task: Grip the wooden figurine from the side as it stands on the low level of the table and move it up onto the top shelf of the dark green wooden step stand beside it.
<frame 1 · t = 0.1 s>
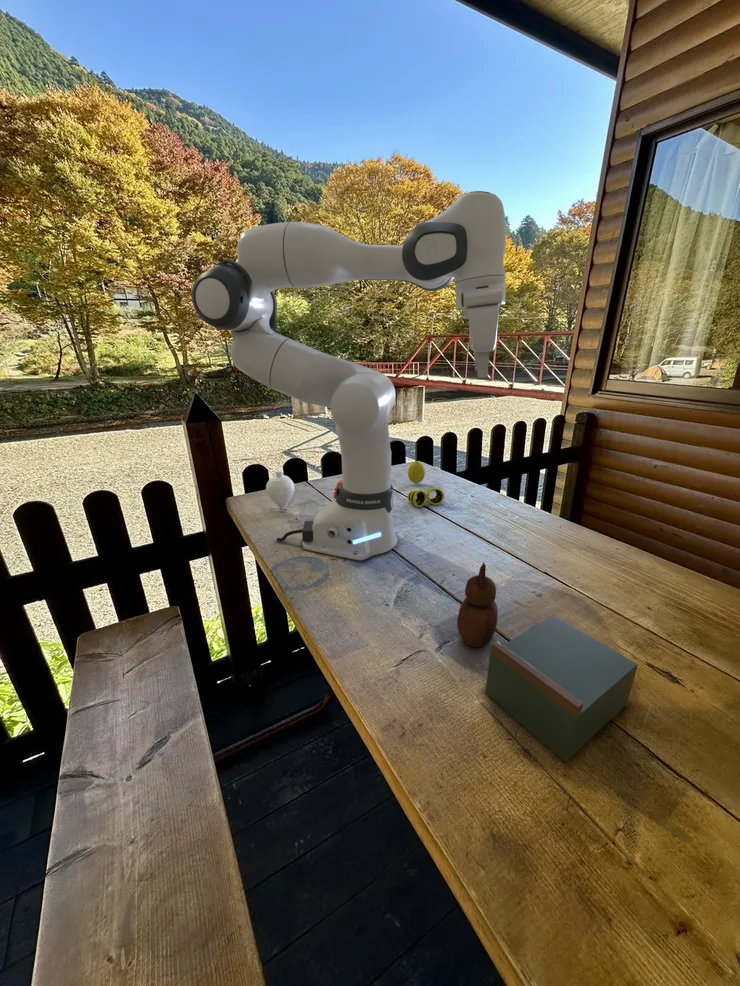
hand: (481, 375, 80), 39 cm above the table, tool pointing down, fingers open, 8 cm apart
step stand: (554, 698, 56), on the table
lemon: (416, 484, 135), on the table
spinning top: (282, 512, 115), on the table
wooden figurine: (475, 640, 67), on the table
opera glasses: (425, 504, 120), on the table
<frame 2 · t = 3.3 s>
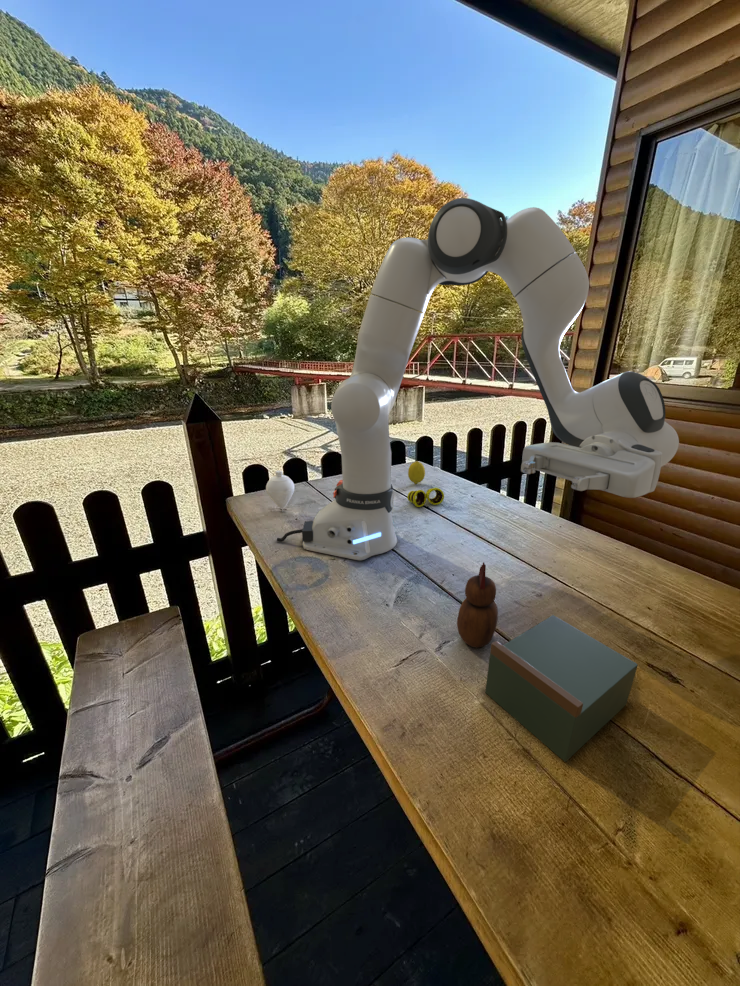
hand: (548, 476, 63), 26 cm above the table, tool horizontal, fingers open, 8 cm apart
nothing on the table moved.
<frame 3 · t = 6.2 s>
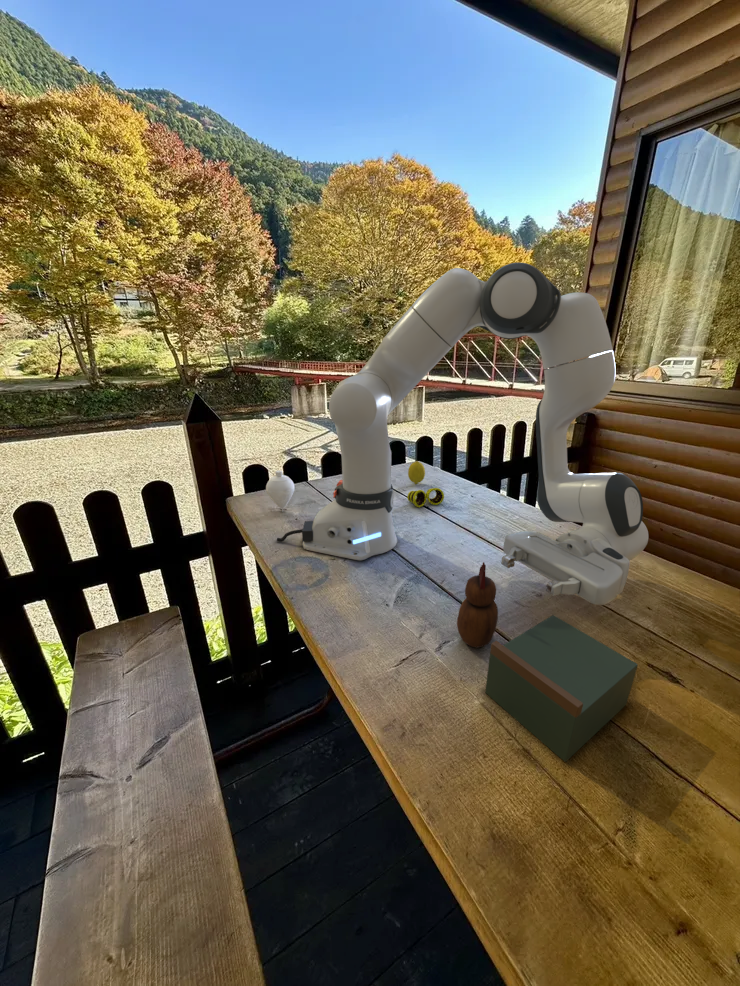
hand: (525, 575, 68), 9 cm above the table, tool horizontal, fingers open, 8 cm apart
nothing on the table moved.
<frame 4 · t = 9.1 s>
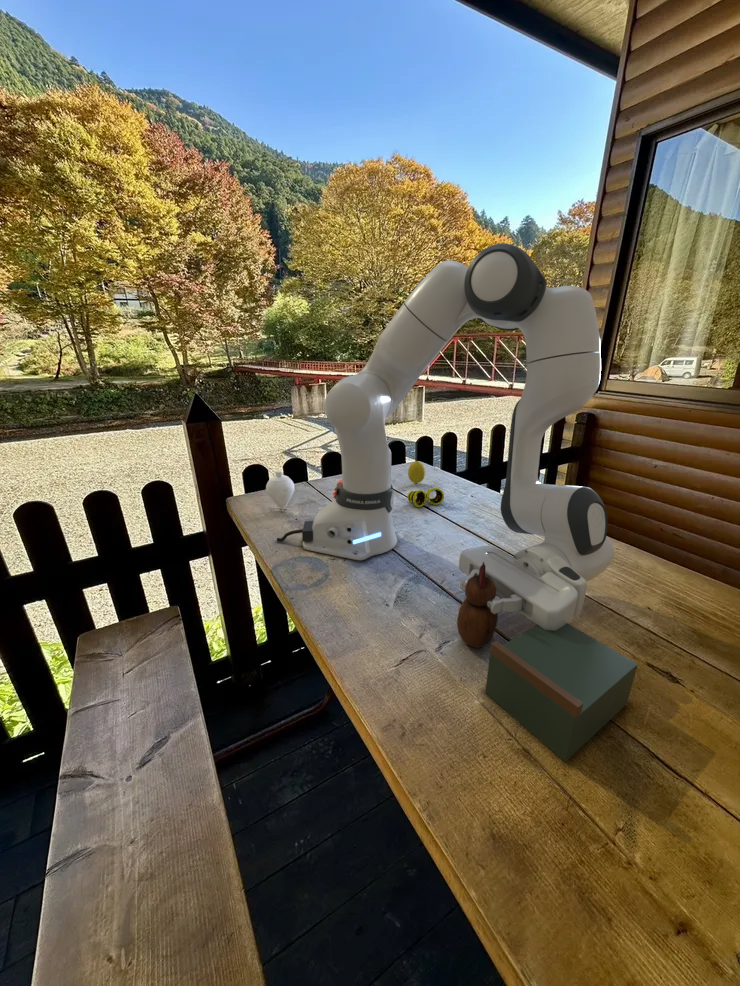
hand: (475, 596, 63), 9 cm above the table, tool horizontal, fingers closed on wooden figurine, 4 cm apart
wooden figurine: (475, 640, 67), on the table, touching gripper
everything else where it was.
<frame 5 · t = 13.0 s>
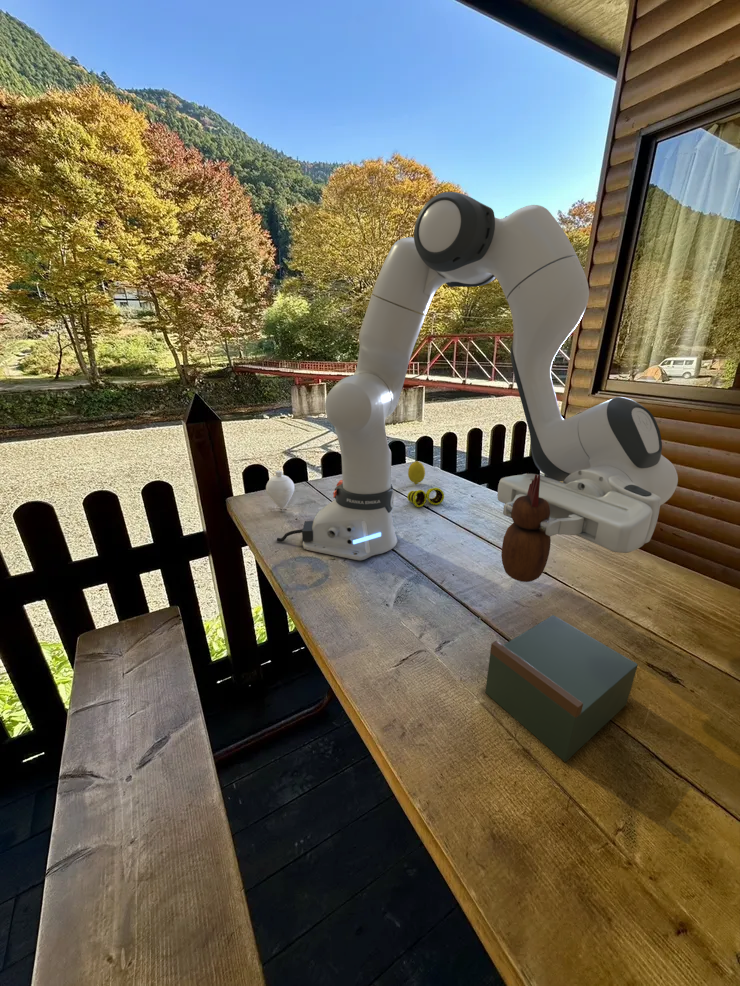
hand: (525, 519, 53), 24 cm above the table, tool horizontal, fingers closed on wooden figurine, 4 cm apart
wooden figurine: (522, 575, 56), point 15 cm above the table, touching gripper
everything else where it was.
when the fingers open (15 cm above the table, at t = 17.0 s): wooden figurine stays where it is, resting on step stand.
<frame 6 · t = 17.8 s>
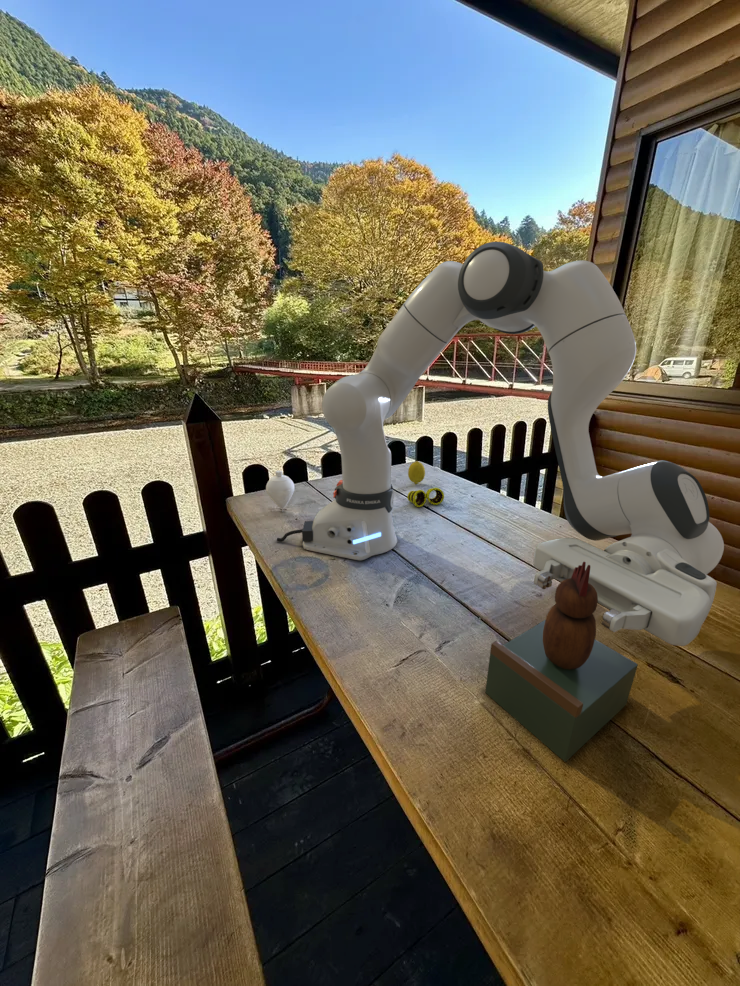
hand: (570, 600, 49), 16 cm above the table, tool horizontal, fingers open, 8 cm apart
wooden figurine: (563, 659, 53), point 7 cm above the table, touching step stand
everything else where it was.
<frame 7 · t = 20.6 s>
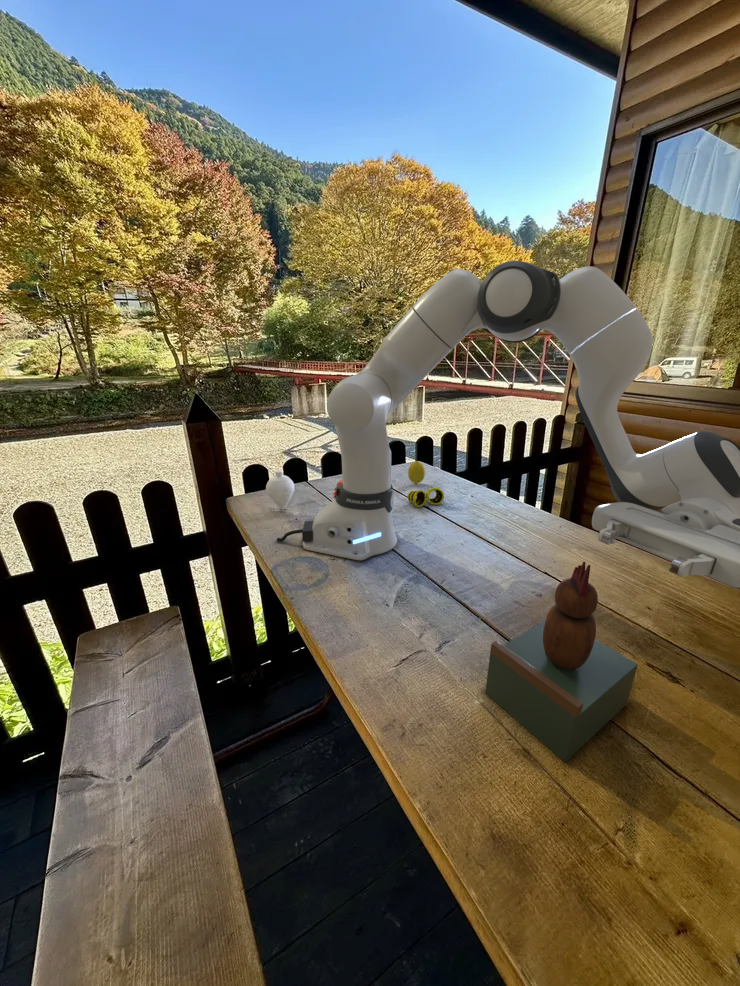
hand: (637, 552, 54), 19 cm above the table, tool horizontal, fingers open, 8 cm apart
nothing on the table moved.
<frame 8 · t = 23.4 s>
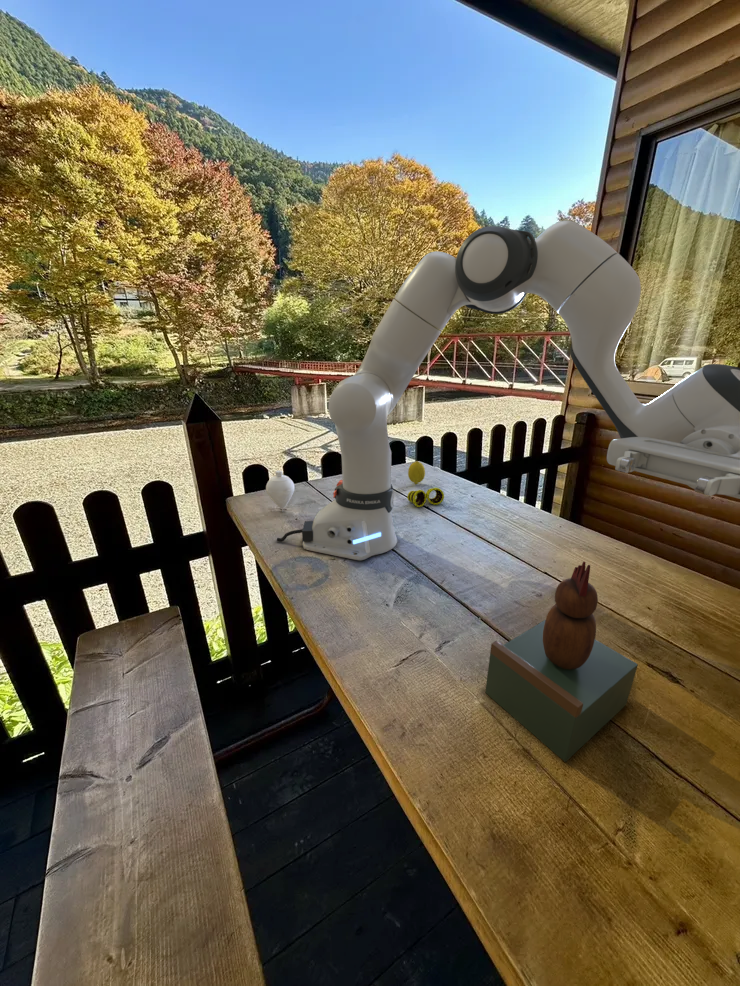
hand: (658, 475, 50), 30 cm above the table, tool horizontal, fingers open, 8 cm apart
nothing on the table moved.
at the end: wooden figurine inside the target area on the step stand (0.1 cm from its centre), point 6.8 cm above the step stand's base; wooden figurine tilted 0°; the gripper is holding nothing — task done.
